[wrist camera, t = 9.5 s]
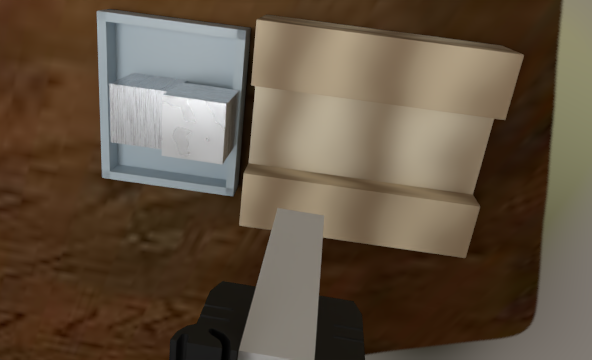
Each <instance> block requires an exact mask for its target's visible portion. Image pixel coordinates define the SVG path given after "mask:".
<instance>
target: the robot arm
mask: <svg viewBox="0 0 592 360" xmlns="http://www.w3.org/2000/svg"><path fill="white" fill-rule="evenodd" d="M323 226H324V215H318V214H312V213H305V212H299V211H293V210H287V209H281V208H277V212H276V216H275V219H274V223H273V227H272V230H271V234H270V238H269V241H268V245H267V249H266V252H265V256H264V260H263V263H262V267H261V271H260V274H259V278H258V282H257V285H256V287H255V286H249V285H243V284H237V283H231V282H225V281H222V282H221V283H220V284H218V285H217V286H216V287H215V288H213V289H212V290H211V291H210V293H209V295H208V298H207V300H206V302H205V306H204V307H203V310H202V312H201V314H200V317H199V319H198V322H197V324H194V325H189V326H186V327H184V328H183V329H181V330H179V331H177V332H176V333H175V335H174V336H173V337H172V338H171V340H170V357H169V360H365V354H364V343H363V341H364V338H363V323H362V314H361V312H360V311H359V309H358V308H357V306H356V305H355V303H354V301H348V300H342V299H336V298H330V297H324V296H319V286H320V271H321V256H322V241H323Z"/></svg>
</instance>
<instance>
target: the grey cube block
mask: <svg viewBox="0 0 592 360" xmlns="http://www.w3.org/2000/svg"><path fill="white" fill-rule="evenodd" d="M182 82H183V83H188V80H182V79H175V78H168V77H160V76H153V75H146V74H138V73H131V74H129V75H127V76H125V77H123V78H120V79H118V80H116V81H114V82H112V83H110V84H109V94H110V134H111V142H112V143H119V144H126V145H134V146H141V147H148V148H155V149H162V96H163V94H165V93H166V92H168V91H169V90H171V89H173V88H174V87H176V86H177V85H179V84H180V83H182Z"/></svg>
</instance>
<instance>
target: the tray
mask: <svg viewBox="0 0 592 360" xmlns="http://www.w3.org/2000/svg"><path fill="white" fill-rule="evenodd" d="M250 34H251V28H249V27H241V26H233V25H226V24H218V23H211V22H203V21H196V20H188V19H180V18H173V17H165V16H158V15H150V14H143V13H135V12H128V11H120V10H112V9H107V10H99V11H97V36H98V66H99V97H100V128H101V158H102V178H108V179H115V180H122V181H129V182H136V183H143V184H150V185H157V186H164V187H171V188H178V189H185V190H192V191H199V192H206V193H213V194H220V195H227V196H234V194H235V192H236V190H237V188H238V183H239V170H240V158H241V145H242V133H243V121H244V108H245V96H246V84H247V71H248V59H249V47H250ZM131 73H138V74H146V75H153V76H160V77H168V78H175V79H182V80H188V83H191V84H198V85H205V86H212V87H219V88H226V89H234V90H239V103H238V116H237V129H236V143H235V147H234V148H233V150H232V151H231V153H230V154H229V155H228V157H227V158H226V160H225V161H224V163H223V164H215V163H208V162H202V161H195V160H188V159H181V158H174V157H167V156H162V149H155V148H148V147H141V146H134V145H126V144H119V143H112V142H111V134H110V94H109V84H110V83H112V82H114V81H116V80H118V79H120V78H123V77H125V76H127V75H129V74H131Z"/></svg>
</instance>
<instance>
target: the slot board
mask: <svg viewBox="0 0 592 360" xmlns="http://www.w3.org/2000/svg"><path fill="white" fill-rule="evenodd" d="M523 56H524V55H523V54H521V53H518V52H516V51H513V50H511V49H509V48H506V47H504V46H501V45H494V44H487V43H479V42H471V41H464V40H456V39H448V38H441V37H433V36H426V35H418V34H410V33H403V32H395V31H388V30H380V29H372V28H365V27H357V26H349V25H342V24H334V23H327V22H319V21H311V20H304V19H296V18H289V17H281V16H273V15H265V16H263V17H261V18H259V19H257V21H256V33H255V45H254V56H253V68H252V80H251V86H255V96H254V107H253V119H252V130H251V141H250V153H249V163H248V165H247V167H246V169H245V171H244V175H243V187H242V198H241V210H240V222H239V225H240V226H247V227H254V228H260V229H267V230H272V227H273V223H274V219H275V216H276V212H277V208H281V209H287V210H293V211H299V212H305V213H312V214H318V215H324V226H323V238H330V239H337V240H344V241H351V242H358V243H365V244H371V245H378V246H385V247H392V248H399V249H406V250H413V251H420V252H427V253H434V254H441V255H448V256H455V257H462V258H466V254H467V251H468V247H469V244H470V240H471V237H472V233H473V230H474V226H475V223H476V220H477V216H478V213H479V209H480V205H479V204H478V202H477V201H476V199H475V197H474V196H473V192H474V189H475V185H476V181H477V178H478V174H479V171H480V167H481V163H482V160H483V156H484V153H485V149H486V146H487V142H488V138H489V135H490V131H491V128H492V124H493V120H494V119H501V120H505V119H506V115H507V112H508V109H509V105H510V102H511V98H512V95H513V91H514V88H515V84H516V81H517V77H518V74H519V70H520V67H521V63H522V60H523Z"/></svg>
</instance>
